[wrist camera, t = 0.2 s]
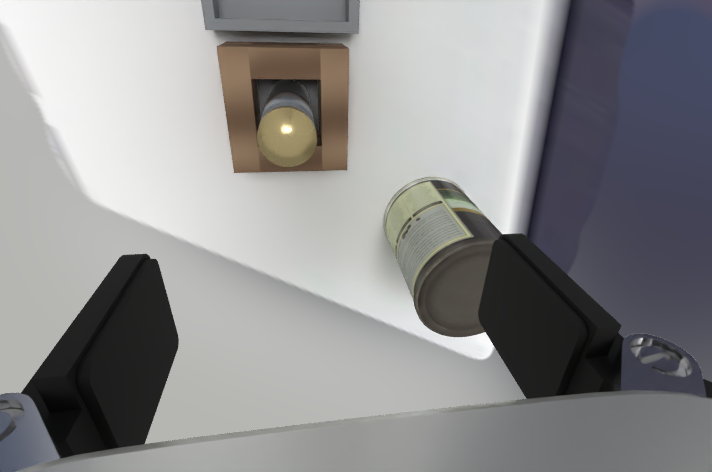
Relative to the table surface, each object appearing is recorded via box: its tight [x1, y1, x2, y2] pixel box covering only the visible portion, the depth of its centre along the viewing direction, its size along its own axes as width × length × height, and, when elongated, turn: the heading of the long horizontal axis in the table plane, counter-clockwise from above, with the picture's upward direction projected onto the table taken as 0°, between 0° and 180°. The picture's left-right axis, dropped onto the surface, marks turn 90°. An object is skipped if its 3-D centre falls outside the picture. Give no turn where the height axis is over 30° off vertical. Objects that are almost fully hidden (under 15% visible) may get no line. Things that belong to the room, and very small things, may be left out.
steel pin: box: [257, 79, 317, 167], centre depth 31 cm, size 4×4×12 cm
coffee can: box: [384, 177, 502, 337], centre depth 39 cm, size 10×10×14 cm
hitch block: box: [217, 42, 349, 173], centre depth 34 cm, size 10×10×5 cm
